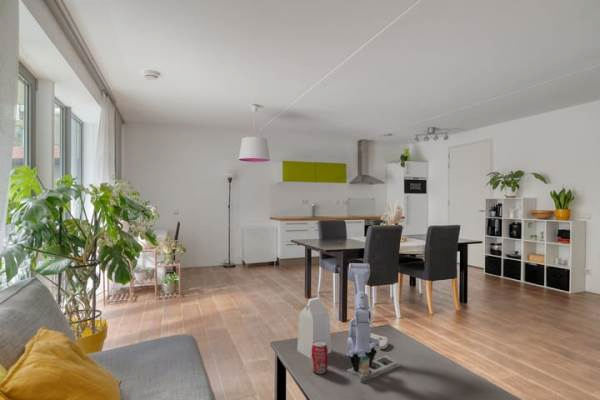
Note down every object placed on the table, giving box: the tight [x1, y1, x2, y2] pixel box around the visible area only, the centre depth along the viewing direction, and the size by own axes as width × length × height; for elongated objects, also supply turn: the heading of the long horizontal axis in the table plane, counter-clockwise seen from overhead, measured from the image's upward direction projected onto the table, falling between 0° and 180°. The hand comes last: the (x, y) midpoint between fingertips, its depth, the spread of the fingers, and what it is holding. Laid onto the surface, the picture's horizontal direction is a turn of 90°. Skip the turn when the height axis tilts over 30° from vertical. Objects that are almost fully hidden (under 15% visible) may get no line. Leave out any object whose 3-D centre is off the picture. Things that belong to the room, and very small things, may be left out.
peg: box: [358, 354, 370, 375], centre depth 145 cm, size 4×4×8 cm
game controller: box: [369, 332, 389, 350], centre depth 176 cm, size 14×4×10 cm
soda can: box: [310, 341, 329, 375], centre depth 149 cm, size 7×7×12 cm
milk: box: [296, 297, 332, 360], centre depth 167 cm, size 12×12×26 cm
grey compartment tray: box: [346, 354, 400, 384], centre depth 149 cm, size 8×24×2 cm, turn 124°
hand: (362, 368), depth 145 cm, fingers open, 7 cm apart
